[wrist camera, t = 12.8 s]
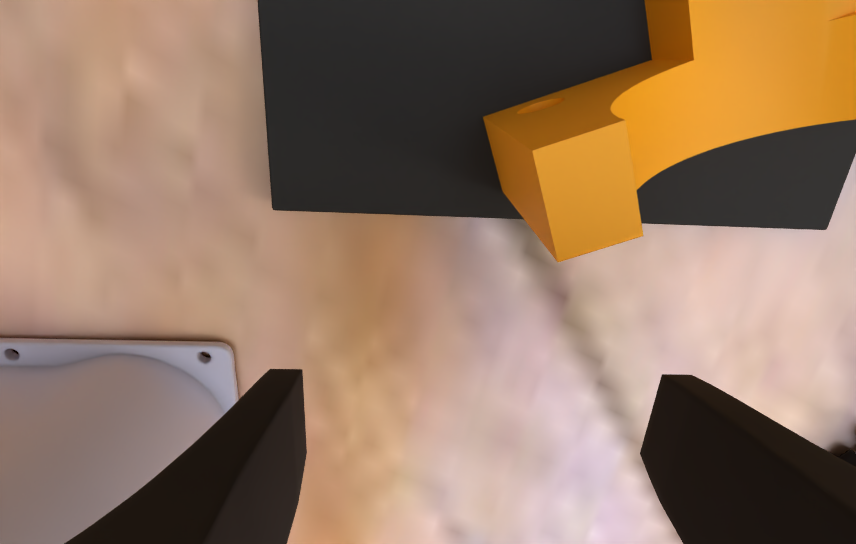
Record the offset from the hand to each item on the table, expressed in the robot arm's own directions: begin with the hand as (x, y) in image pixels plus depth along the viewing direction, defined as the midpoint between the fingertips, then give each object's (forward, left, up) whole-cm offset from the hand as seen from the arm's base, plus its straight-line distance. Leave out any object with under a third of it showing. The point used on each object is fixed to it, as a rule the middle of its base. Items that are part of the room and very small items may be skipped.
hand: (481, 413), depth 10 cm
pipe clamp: (+7, +7, -9) cm, 13 cm away
